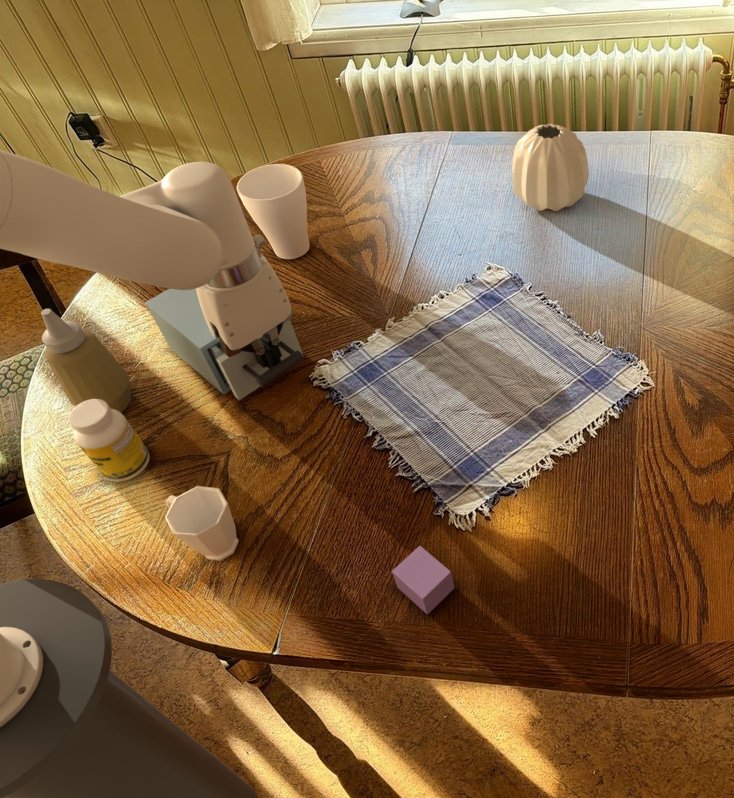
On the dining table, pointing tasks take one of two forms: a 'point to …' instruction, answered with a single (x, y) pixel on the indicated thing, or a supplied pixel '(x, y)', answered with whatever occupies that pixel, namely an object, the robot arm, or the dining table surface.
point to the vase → (549, 168)
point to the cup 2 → (278, 207)
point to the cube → (423, 579)
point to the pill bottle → (108, 440)
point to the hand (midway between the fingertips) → (272, 364)
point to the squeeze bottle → (83, 364)
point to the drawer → (256, 364)
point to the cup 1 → (203, 522)
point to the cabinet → (187, 331)
